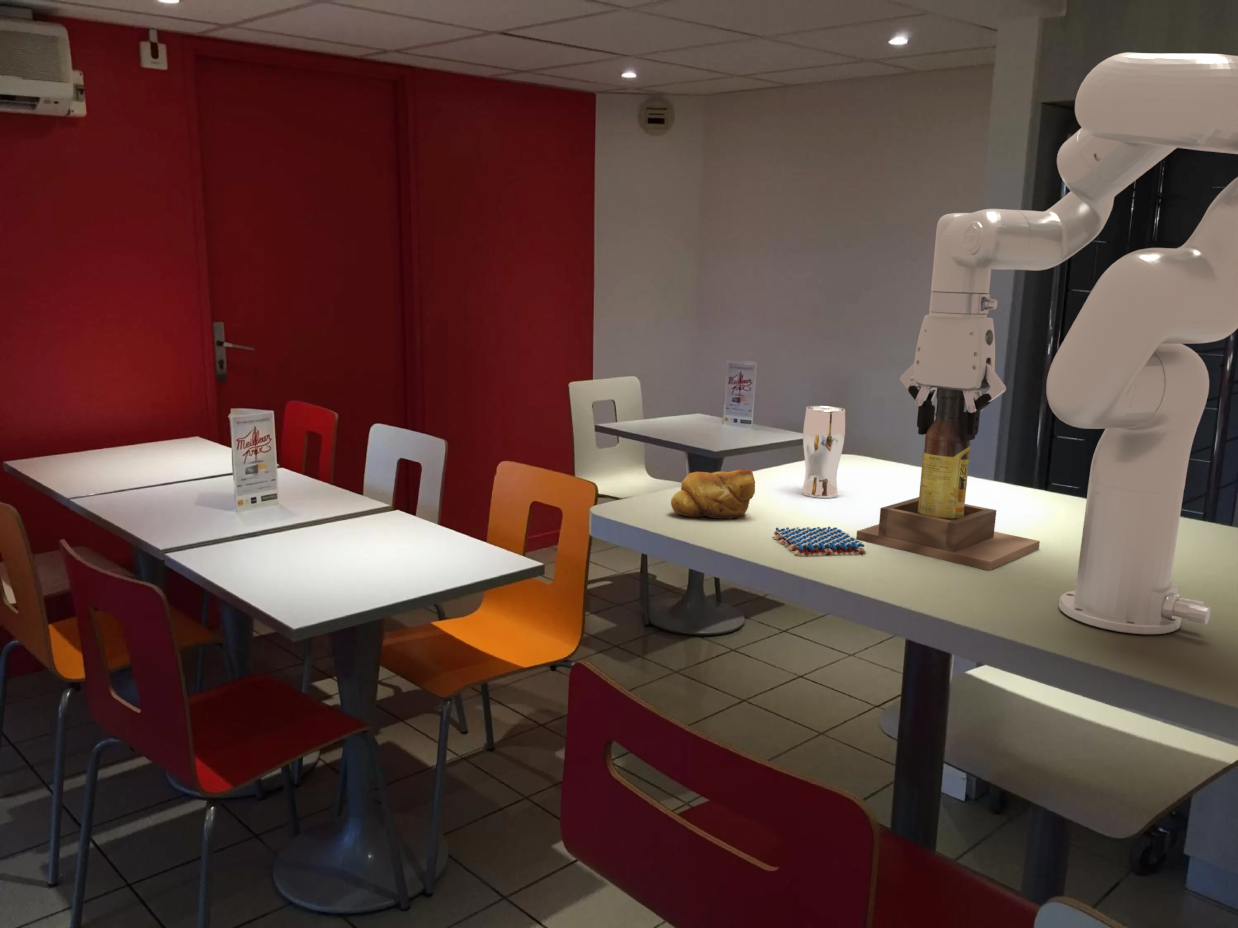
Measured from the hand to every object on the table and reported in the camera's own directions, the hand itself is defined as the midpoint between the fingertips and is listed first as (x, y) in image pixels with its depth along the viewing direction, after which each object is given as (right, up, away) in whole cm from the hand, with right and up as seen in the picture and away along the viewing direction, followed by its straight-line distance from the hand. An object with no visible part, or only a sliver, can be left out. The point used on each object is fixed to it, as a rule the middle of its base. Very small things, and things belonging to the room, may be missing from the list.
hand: (946, 435), depth 141 cm
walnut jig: (+1, -15, +4) cm, 16 cm away
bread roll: (-32, -12, +17) cm, 38 cm away
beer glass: (-11, -9, +33) cm, 36 cm away
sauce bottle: (0, -13, +2) cm, 13 cm away
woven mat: (-18, -16, +1) cm, 24 cm away
